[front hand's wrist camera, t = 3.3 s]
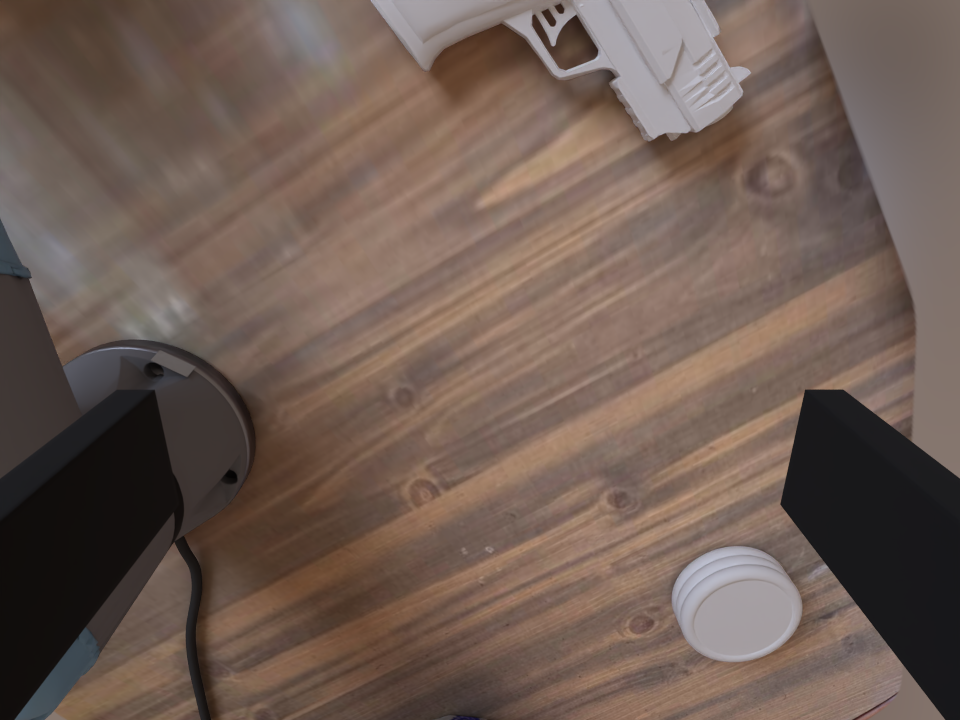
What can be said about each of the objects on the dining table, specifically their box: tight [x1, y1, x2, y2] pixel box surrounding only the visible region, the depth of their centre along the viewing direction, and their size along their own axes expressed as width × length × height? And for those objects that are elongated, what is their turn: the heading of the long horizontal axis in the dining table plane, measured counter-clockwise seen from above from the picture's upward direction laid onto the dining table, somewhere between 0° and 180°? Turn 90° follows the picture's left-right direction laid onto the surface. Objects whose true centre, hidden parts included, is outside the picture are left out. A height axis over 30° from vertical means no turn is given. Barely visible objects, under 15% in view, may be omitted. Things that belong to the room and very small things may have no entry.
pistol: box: [371, 0, 751, 141], centre depth 36 cm, size 4×20×15 cm
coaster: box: [672, 546, 803, 662], centre depth 52 cm, size 10×10×4 cm
